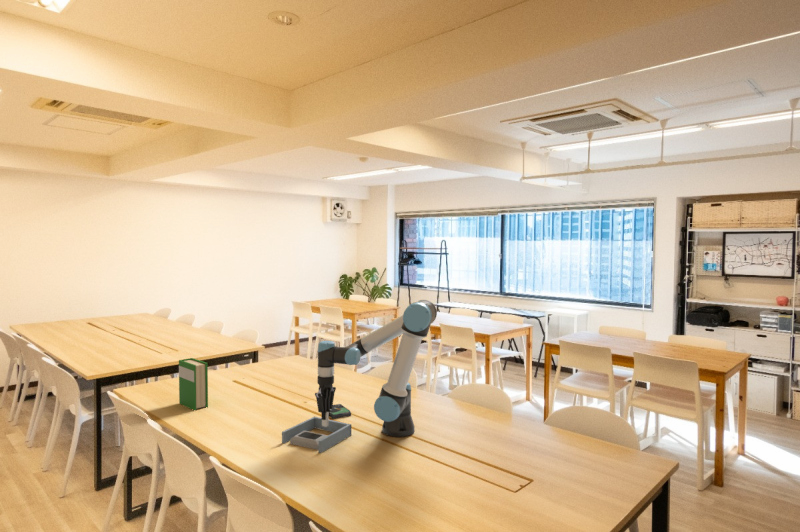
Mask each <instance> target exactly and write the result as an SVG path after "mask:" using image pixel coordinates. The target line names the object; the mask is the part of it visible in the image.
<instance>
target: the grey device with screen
mask: <svg viewBox="0 0 800 532" xmlns="http://www.w3.org/2000/svg"><path fill="white" fill-rule="evenodd" d="M326 436H328V435H326V434H322V433H317V432H313V431H303V432H301V433H299V434H297V435H295V436H294V437H292V438H291V439H290V441H289V444H290V445H294V446H298V447H303V448H306V449H312V450H317V451H319V440H321V439H323V438H324V437H326Z"/></svg>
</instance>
